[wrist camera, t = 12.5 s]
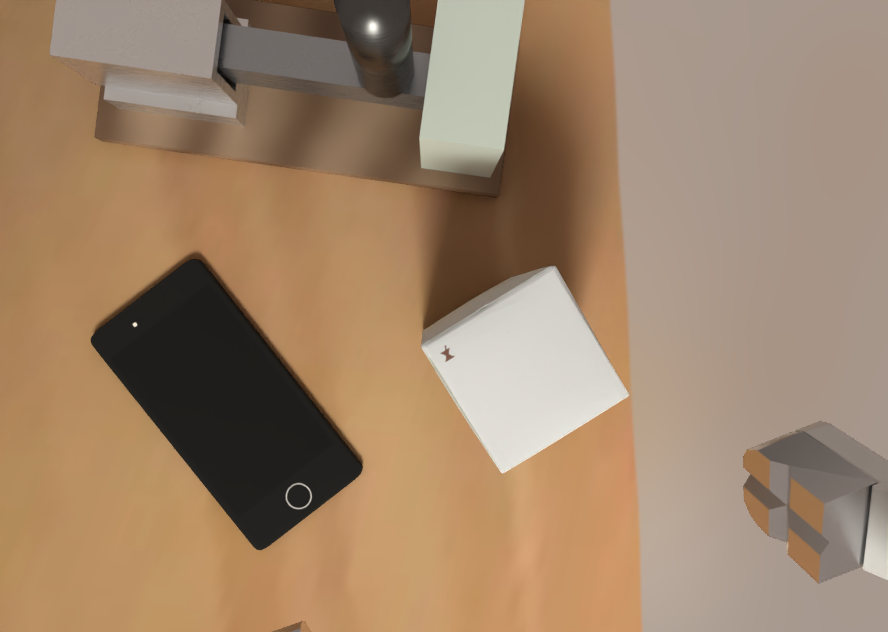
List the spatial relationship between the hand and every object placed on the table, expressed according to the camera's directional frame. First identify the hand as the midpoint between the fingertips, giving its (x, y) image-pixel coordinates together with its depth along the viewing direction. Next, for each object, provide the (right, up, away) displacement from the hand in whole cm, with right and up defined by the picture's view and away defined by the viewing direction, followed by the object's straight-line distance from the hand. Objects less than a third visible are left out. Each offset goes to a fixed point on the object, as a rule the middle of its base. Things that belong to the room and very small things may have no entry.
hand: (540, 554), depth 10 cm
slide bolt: (-7, +18, +26) cm, 32 cm away
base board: (-10, +19, +29) cm, 36 cm away
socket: (0, +17, +28) cm, 33 cm away
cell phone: (-16, -2, +30) cm, 34 cm away
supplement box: (+2, +2, +30) cm, 30 cm away
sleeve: (-18, +20, +28) cm, 39 cm away
